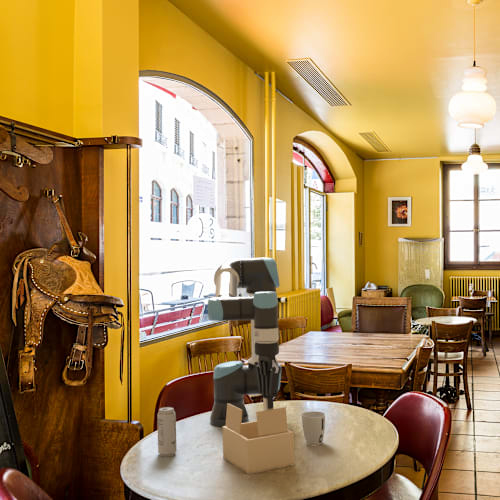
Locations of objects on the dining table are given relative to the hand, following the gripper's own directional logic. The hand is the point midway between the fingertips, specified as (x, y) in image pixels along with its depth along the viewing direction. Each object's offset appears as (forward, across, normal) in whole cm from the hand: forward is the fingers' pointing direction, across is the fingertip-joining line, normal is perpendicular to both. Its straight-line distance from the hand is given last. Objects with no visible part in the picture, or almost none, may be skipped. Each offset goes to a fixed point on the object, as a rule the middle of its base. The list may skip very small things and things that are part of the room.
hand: (268, 418), depth 184 cm
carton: (+15, -6, -1) cm, 16 cm away
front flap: (0, +2, 0) cm, 2 cm away
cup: (+15, -12, +24) cm, 31 cm away
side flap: (0, -8, -8) cm, 11 cm away
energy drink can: (+15, -28, -23) cm, 39 cm away
